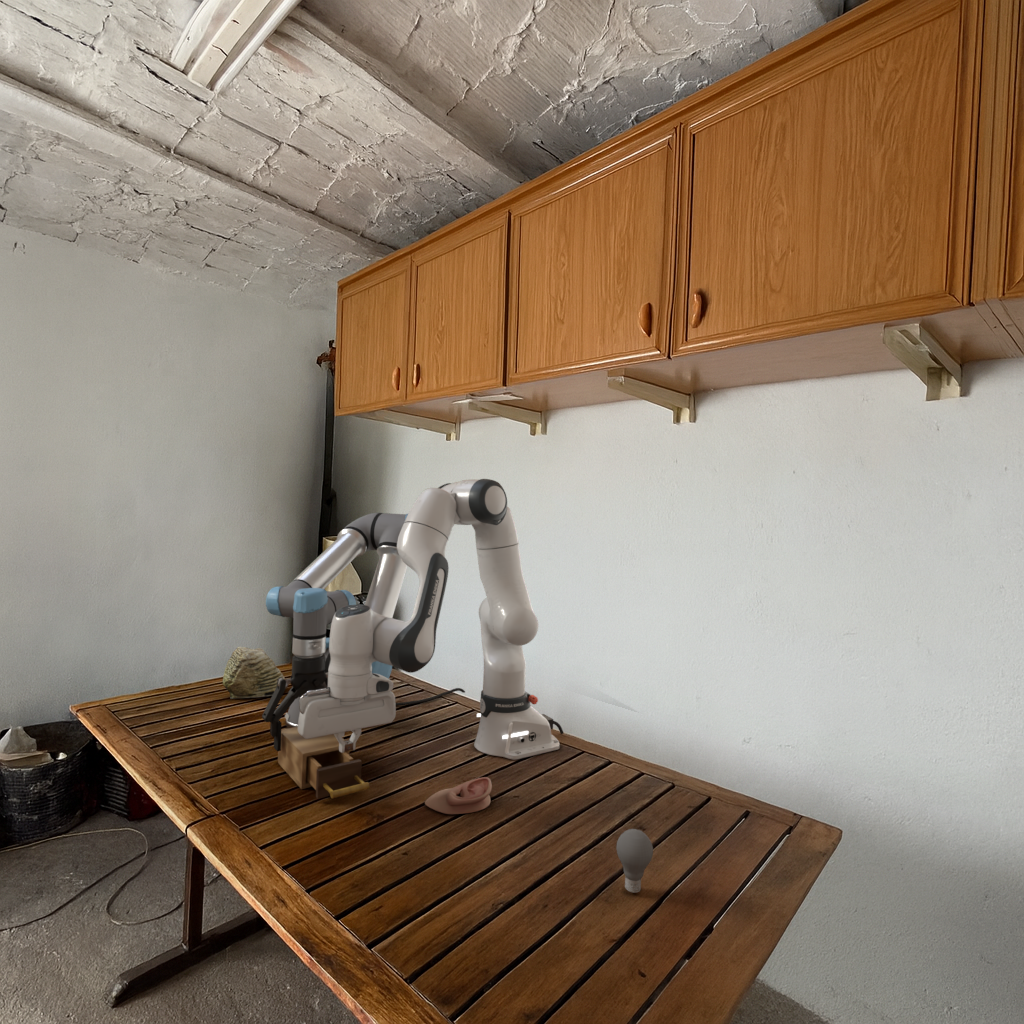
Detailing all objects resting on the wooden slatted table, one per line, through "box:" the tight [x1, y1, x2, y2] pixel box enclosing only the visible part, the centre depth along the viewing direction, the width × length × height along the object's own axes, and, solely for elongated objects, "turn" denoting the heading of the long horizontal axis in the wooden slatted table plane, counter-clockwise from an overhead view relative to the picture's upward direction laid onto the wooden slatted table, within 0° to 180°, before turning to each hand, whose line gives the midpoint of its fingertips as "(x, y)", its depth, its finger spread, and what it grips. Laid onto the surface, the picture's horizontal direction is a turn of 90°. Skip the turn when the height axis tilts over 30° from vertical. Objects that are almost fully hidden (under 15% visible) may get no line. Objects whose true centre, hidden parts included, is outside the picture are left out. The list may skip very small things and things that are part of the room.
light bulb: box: [615, 828, 654, 894], centre depth 106 cm, size 6×6×10 cm
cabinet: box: [277, 727, 350, 790], centre depth 146 cm, size 16×11×8 cm, turn 38°
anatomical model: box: [424, 776, 493, 815], centre depth 134 cm, size 13×4×12 cm
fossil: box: [222, 646, 287, 699], centre depth 198 cm, size 9×18×15 cm, turn 132°
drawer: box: [306, 750, 370, 800], centre depth 137 cm, size 21×10×6 cm, turn 38°
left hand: (306, 743), depth 151 cm, fingers open, 13 cm apart
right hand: (347, 750), depth 131 cm, fingers closed
